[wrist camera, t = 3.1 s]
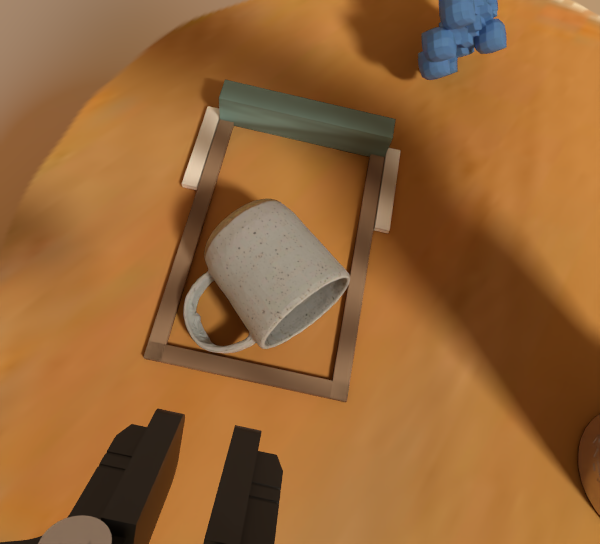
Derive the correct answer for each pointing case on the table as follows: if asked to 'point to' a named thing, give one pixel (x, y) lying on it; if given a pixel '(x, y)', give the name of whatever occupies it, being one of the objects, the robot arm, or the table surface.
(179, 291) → the bay
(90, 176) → the table surface
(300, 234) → the ceramic mug
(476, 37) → the grapes
